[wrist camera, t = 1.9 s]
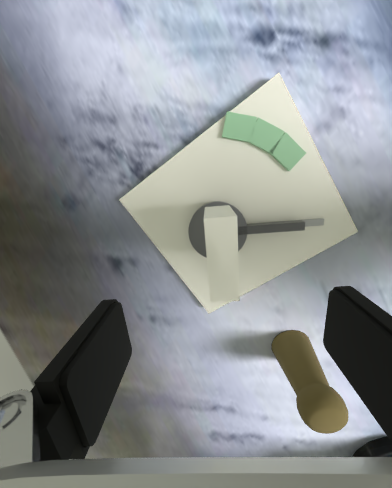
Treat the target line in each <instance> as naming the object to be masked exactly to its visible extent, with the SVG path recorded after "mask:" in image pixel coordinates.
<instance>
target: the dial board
mask: <svg viewBox="0 0 392 488" xmlns="http://www.w3.org/2000/svg"><path fill="white" fill-rule="evenodd" d="M119 200H120V202H121V203H122V204H123V205H124V207H125V208H126V209H127V210H128V212H129V213H130V214H131V216H132V217H133V218H134V219H135V221H136V222H137V223H138V224H139V226H140V227H141V228H142V229H143V231H144V232H145V233H146V235H147V236H148V237H149V238H150V240H151V241H152V242H153V243H154V245H155V246H156V247H157V249H158V250H159V251H160V252H161V254H162V255H163V256H164V257H165V259H166V260H167V261H168V262H169V264H170V265H171V266H172V268H173V269H174V270H175V271H176V273H177V274H178V275H179V276H180V278H181V279H182V280H183V282H184V283H185V284H186V285H187V287H188V288H189V289H190V290H191V292H192V293H193V294H194V295H195V297H196V298H197V299H198V301H199V302H200V303H201V304H202V306H203V307H204V308H205V309H206V311H207V312H208V313H211V312H213V311H215V310H217V309H219V308H220V307H222V306H224V305H226V304H228V303H229V302H231V301H226V302H210V293H209V281H208V268H207V258H206V257H204V256H202V255H201V254H199V253H198V252H197V251H196V250H195V249H194V248H193V246H192V244H191V242H190V239H189V234H188V229H189V224H190V221H191V219H192V216H193V215H194V213H195V212H196V211H197V210H198V209H199V208H200V207H201V206H203V205H204V204H207V203H209V202H214V201H222V202H226V203H229V204H231V205H233V206H234V207H236V208H237V209H238V210H239V211H240V212H241V213H242V215H243V216H244V218H245V220H246V223H247V224H251V223H264V222H277V221H291V220H302V221H305V230H302V231H288V232H273V233H259V234H247V238H246V241H245V243H244V245H243V247H242V248H241V249H240V250H239V251H238V260H239V295H240V296H242V295H244V294H246V293H248V292H250V291H251V290H253V289H255V288H257V287H259V286H260V285H262V284H264V283H266V282H268V281H270V280H271V279H273V278H275V277H277V276H279V275H280V274H282V273H284V272H286V271H288V270H290V269H291V268H293V267H295V266H297V265H299V264H301V263H302V262H304V261H306V260H308V259H310V258H311V257H313V256H315V255H317V254H319V253H321V252H322V251H324V250H326V249H328V248H330V247H332V246H333V245H335V244H337V243H339V242H341V241H342V240H344V239H346V238H348V237H350V236H352V235H353V234H355V233H357V232H358V230H357V228H356V226H355V224H354V222H353V220H352V218H351V216H350V214H349V212H348V210H347V208H346V206H345V204H344V202H343V200H342V198H341V196H340V194H339V192H338V190H337V188H336V186H335V184H334V182H333V180H332V178H331V176H330V174H329V172H328V170H327V168H326V166H325V164H324V162H323V160H322V158H321V156H320V154H319V152H318V150H317V148H316V146H315V144H314V142H313V140H312V138H311V136H310V134H309V132H308V130H307V128H306V126H305V124H304V122H303V120H302V118H301V116H300V113H299V111H298V109H297V107H296V105H295V103H294V101H293V99H292V97H291V95H290V93H289V91H288V89H287V87H286V85H285V83H284V81H283V79H282V77H281V75H280V73H278V74H277V75H275V76H274V77H273V78H272V79H270V80H269V81H268V82H266V83H265V84H264V85H263V86H261V87H260V88H259V89H258V90H256V91H255V92H254V93H253V94H251V95H250V96H249V97H248V98H246V99H245V100H244V101H243V102H241V103H240V104H239V105H238V106H236V107H235V108H234V109H233V110H231V111H230V112H227V113H226V115H225V116H224V117H222V118H221V119H220V120H219V121H217V122H216V123H215V124H214V125H212V126H211V127H210V128H209V129H207V130H206V131H205V132H204V133H202V134H201V135H200V136H199V137H197V138H196V139H195V140H194V141H192V142H191V143H190V144H189V145H187V146H186V147H185V148H183V149H182V150H181V151H180V152H178V153H177V154H176V155H175V156H173V157H172V158H171V159H170V160H168V161H167V162H166V163H165V164H163V165H162V166H161V167H160V168H158V169H157V170H156V171H155V172H153V173H152V174H151V175H150V176H148V177H147V178H146V179H144V180H143V181H142V182H141V183H139V184H138V185H137V186H136V187H134V188H133V189H132V190H131V191H129V192H128V193H127V194H126V195H124V196H123V197H122V198H121V199H119Z"/></svg>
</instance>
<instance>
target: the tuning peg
mask: <svg viewBox="0 0 392 488" xmlns="http://www.w3.org/2000/svg"><path fill="white" fill-rule="evenodd" d="M302 230H305V221H302V220H291V221H277V222H264V223H251V224H247V223H246V220H245V218H244V216H243V215H242V213H241V212H240V211H239V210H238V209H237V208H236V207H234V206H233V205H231V204H229V203H226V202H222V201H214V202H209V203H207V204H204V205H203V206H201V207H200V208H199V209H198V210H197V211H196V212H195V213H194V215H193V216H192V219H191V221H190V224H189V229H188V234H189V239H190V242H191V244H192V246H193V248H194V249H195V250H196V251H197V252H198V253H199V254H201V255H202V256H204V257H206V258H207V268H208V281H209V293H210V302H226V301H240V295H239V260H238V251H239V250H240V249H241V248H242V247H243V245H244V243H245V241H246V238H247V234H259V233H273V232H288V231H302Z"/></svg>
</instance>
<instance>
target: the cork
mask: <svg viewBox="0 0 392 488" xmlns="http://www.w3.org/2000/svg"><path fill="white" fill-rule="evenodd" d="M272 351H273V353H274V355H275V357H276V358H277V360H278V362H279V364H280V366H281V368H282V369H283V371H284V373H285V375H286V377H287V378H288V380H289V382H290V384H291V386H292V388H293V389H294V391H295V393H296V395H297V398H296V401H297V409H298V411H299V414H300V416H301V418H302V419H303V421H304V423H305V424H306V425H307V426H309V427H310V428H311V429H312V430H314V431H316V432H319V433H334V432H337V431H339V430H341V429H342V428H343V427H344V426H345V425H346V424H347V422H348V410H347V407H346V405H345V402H344V401H343V399H342V397H341V396H340V395H339V394H338V393H337V392H336V391H335V390H334V389H333V388H332V387H330V386H329V384H328V382H327V379H326V377H325V375H324V372H323V370H322V368H321V365H320V363H319V361H318V359H317V356H316V354H315V352H314V349H313V347H312V345H311V342H310V340H309V338H308V336H307V335H305V334H304V333H302V332H300V331H296V330H289V331H285V332H282V333H280V334H279V335H277V336H276V337H275V338H274V340H273V342H272Z"/></svg>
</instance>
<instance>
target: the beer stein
mask: <svg viewBox="0 0 392 488" xmlns="http://www.w3.org/2000/svg"><path fill="white" fill-rule="evenodd" d="M353 457H392V441H391V440H390V439H389V437H383V438H380V439H377V440H373V441H370V442H368V443H367V444H366V445H364V446H363V447H361V448H360V449H358V450H357V451H356V452H355V454H354V455H353Z"/></svg>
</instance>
